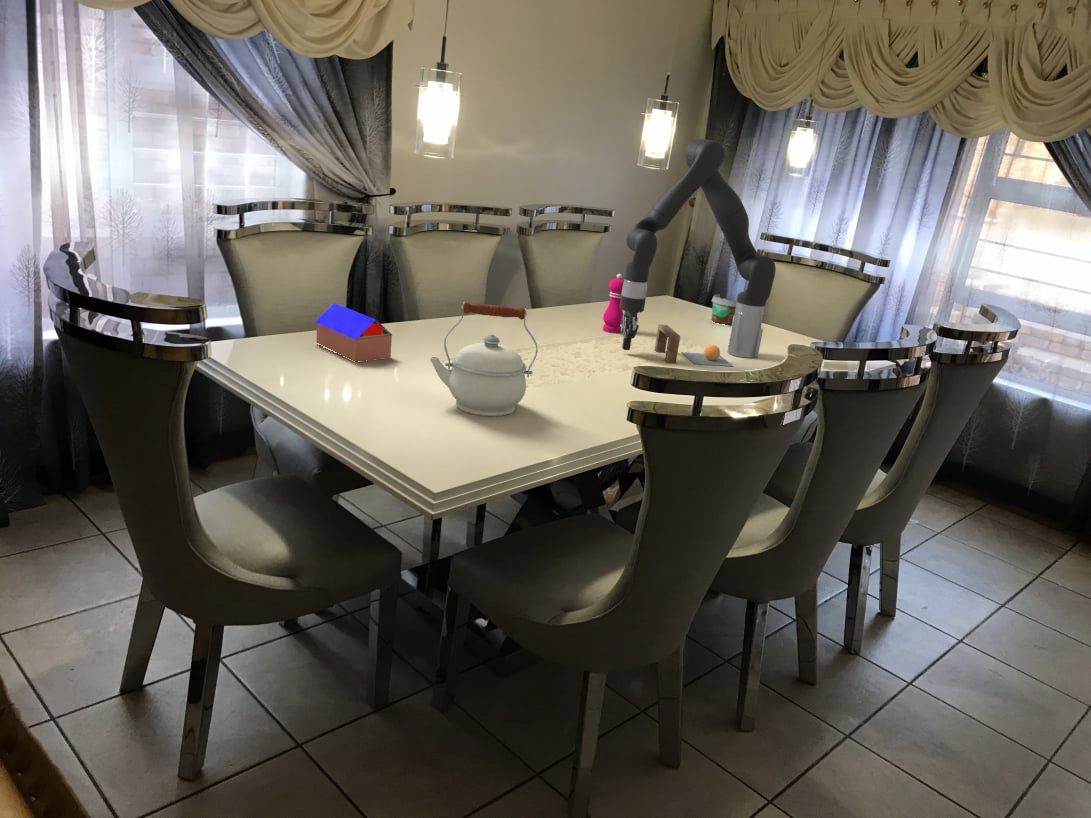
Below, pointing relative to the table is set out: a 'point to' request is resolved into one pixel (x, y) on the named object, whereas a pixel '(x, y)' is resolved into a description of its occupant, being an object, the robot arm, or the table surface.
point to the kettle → (486, 369)
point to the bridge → (672, 345)
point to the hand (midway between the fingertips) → (625, 349)
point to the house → (353, 334)
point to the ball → (712, 352)
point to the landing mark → (706, 360)
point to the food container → (723, 310)
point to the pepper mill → (614, 307)
